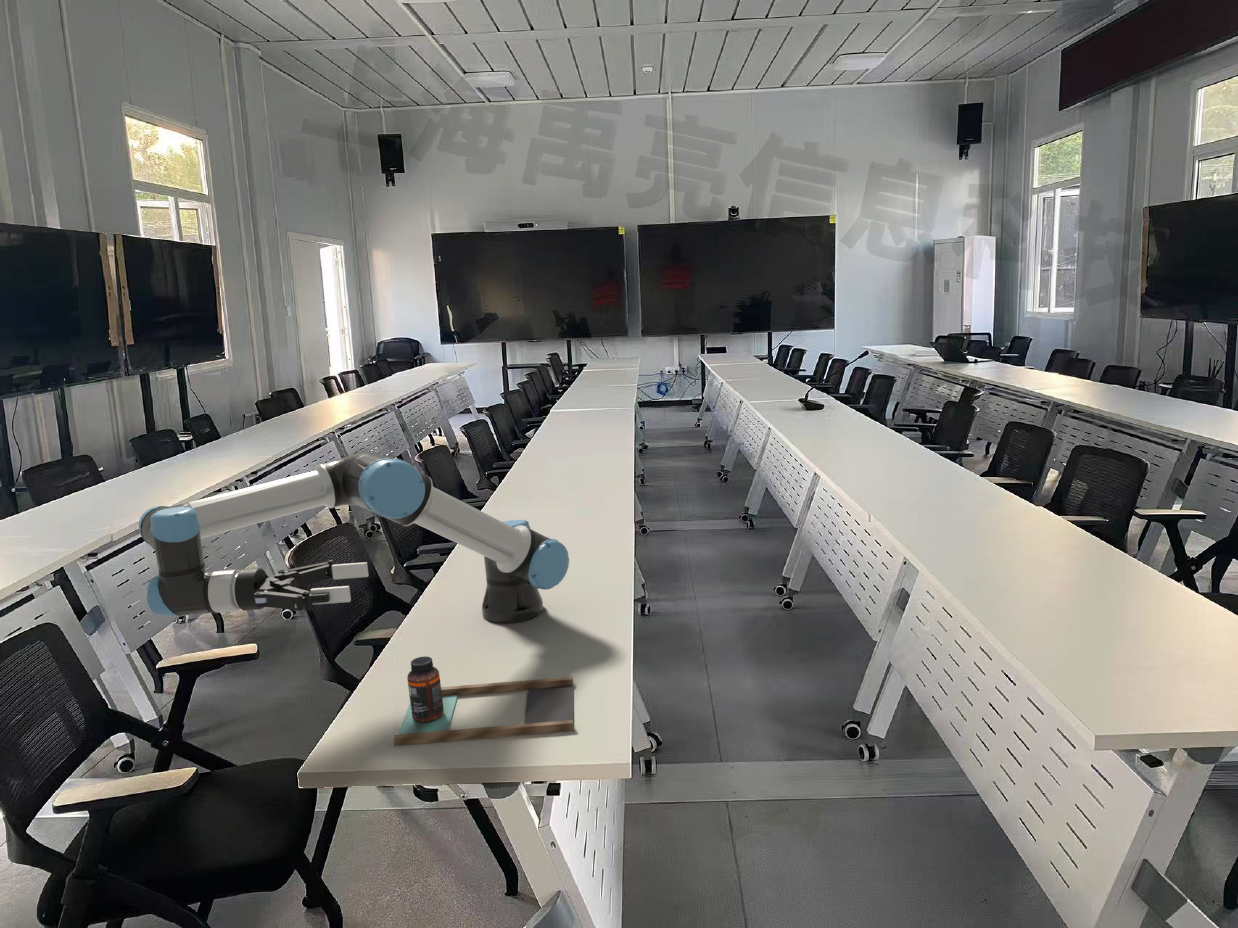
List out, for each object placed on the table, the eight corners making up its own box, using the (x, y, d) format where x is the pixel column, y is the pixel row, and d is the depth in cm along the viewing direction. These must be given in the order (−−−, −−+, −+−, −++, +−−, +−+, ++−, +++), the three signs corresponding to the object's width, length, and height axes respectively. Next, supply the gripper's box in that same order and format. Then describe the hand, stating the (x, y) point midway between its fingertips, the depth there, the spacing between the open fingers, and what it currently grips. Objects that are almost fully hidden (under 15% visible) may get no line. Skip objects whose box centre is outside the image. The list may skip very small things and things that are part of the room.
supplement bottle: (446, 707, 166) (440, 652, 164) (441, 722, 161) (435, 665, 158) (415, 709, 166) (409, 654, 164) (409, 724, 160) (402, 668, 158)
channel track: (394, 745, 154) (393, 737, 154) (413, 696, 173) (412, 689, 172) (573, 730, 155) (572, 722, 155) (573, 683, 174) (572, 676, 174)
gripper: (267, 586, 170) (376, 578, 170) (216, 636, 145) (343, 626, 146) (262, 550, 168) (371, 542, 169) (209, 593, 144) (338, 584, 145)
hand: (359, 581), depth 157 cm, fingers open, 13 cm apart
